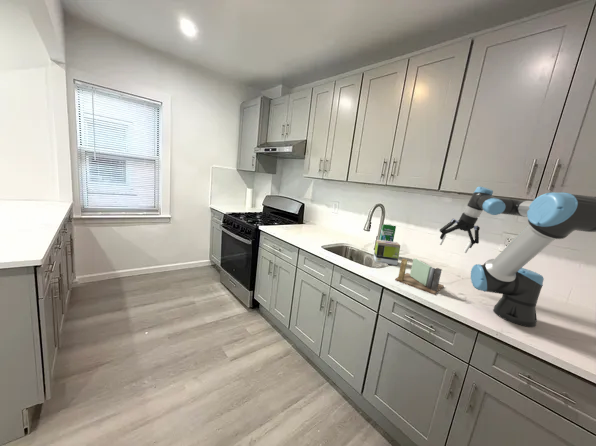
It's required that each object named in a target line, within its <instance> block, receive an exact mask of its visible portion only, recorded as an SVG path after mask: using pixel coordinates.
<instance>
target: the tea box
mask: <svg viewBox="0 0 596 446" xmlns="http://www.w3.org/2000/svg"><path fill="white" fill-rule="evenodd" d="M374 246H375V247H374V253H373V260H374V262H375V263H380V264H387V265H393V266H398V262H399V256H400V249H401V245H400V243H399V242H397V241H393V242H391V241H384V240H379V239H376V241H375V245H374Z"/></svg>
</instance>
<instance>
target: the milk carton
mask: <svg viewBox="0 0 596 446" xmlns="http://www.w3.org/2000/svg"><path fill="white" fill-rule="evenodd" d="M396 229H397V226H396V225H392V224H390V223H386V224H385V223H384V224H382V225H381V230H380V234H379V235H380V236H379V239H378V240H384V241H391V242H394V239H395V233H396Z"/></svg>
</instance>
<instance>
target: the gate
mask: <svg viewBox="0 0 596 446" xmlns="http://www.w3.org/2000/svg"><path fill="white" fill-rule="evenodd" d="M435 269H436V268H435V267H433V266H431V265H429V264H427V263H425V262H423V261H422V260H419V259H418V258H415V257H413V258H412V263H411V269H410V273H409V274H410V276H411V277H413V278H414V279H416V280H417V281H419V282H420V283H422V284H423V285H425V286H427V288H431V287H432V282H433V278H434V273H435Z"/></svg>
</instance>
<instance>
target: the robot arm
mask: <svg viewBox="0 0 596 446" xmlns="http://www.w3.org/2000/svg"><path fill="white" fill-rule="evenodd" d="M493 194H494V190H492V189H490V188H487V187H484V186H481V185H480V186H477V187H476V188H475V190H474V191H473V193H472V194H471V197H470V199H469V201H468V203H467V205H466V206H465V208H464V210H463V213H461V215H460V217H459V219H458V220H457V219H456V218H452V219H451V220H450V222H448V223H447V224H446V225H444V226H443V227H441V228H440V229H439V232H440V233H441V234H440V237H439V239H440V240H439V241H438V244H439V245H440V246H442V244H443V243H444V241H445V239H446V238H447V234H449V233H451V232H454V231H457V230H460V231H463V232H467V234H468V237H469V240H468V242H467V244H466V245H465V247H464V249H463V252H464V253H465V254H467V252H468V251H469V249H472V247H473V246H474V245H475V244H477V245H478V244H479V243H480V239H479V238H480V237H479V236H480V233H479V231H480V229H481V228H480V226H479V225H475V224H476V223H477V221H478V219H479V217H480V216H481V215H482V212H483V211H484V212H486V214H489V215H492V216H497V215H501V214H502V215H508V216H517V217H523V218H527V223H528V225H527V226H526V227H525V228H524V229H523V230H522V231H521V232H520V233H519V234H518V235H517V236H516V237H515V238H513V240H512V241H511V242H510V243H509V244H508V245H507V246H506V247H505V248H504V249H503V250H502V251H501V252H500V253H499V254H498V255H497V256H496V257H495V258H490V259H488V260H486V261H485V262H484V264H480V263H478V264H474V265H473V266H472V268H471V271H470V281H471V284H472V287H474V289H476V290H477V291H481V292H487V293H492V294H500V295H501V298H499V299H498V301H497V302H496V304H494V306H493V309H492V310H493V313H494V314H496V316H498V317H500V318H502V319H504V320H506V321H508V322H511V323H513V324H516V325H519V326H522V327H528V328H529V327H531V328H534V327H536V326H537V323H538V317H537V309H536V306H537V304H538V300H539V298H540V297H539V296H540V294H541V292H542V291H541V290H542V288H543V285H544V284H543V283H544V281H545V280H544V279H545V278H544V276H543V275H542V274H541V273H537V272H536V271H532V270H530V269H527V268H523V267H525V266H526V265H527V264H528V263H530V262H531V260H533V259H534V258H535V257H536V256H537V255H539V253H540V252H542V251H543V250H544V249H546V248H547V247H548V246H549V245H550V244H551V243H552V242H554V241H555V240H564V239H565V238H567V237H568V236H569V235H571V234H572V233H573V232H575V231H576V232H577V231H579V232H587V233H596V196H592V195H582V194H572V193H568V192H561V191H560V192H554V191H553V192H546V193H543V194H541V195H538V196H537V197H535V198H534V199H533V200H524V199H523V200H522V199H513V198H505V197H496V196H494V195H493ZM454 224H455V225H454ZM472 229H473V230H474V236H473V233H472Z"/></svg>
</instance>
